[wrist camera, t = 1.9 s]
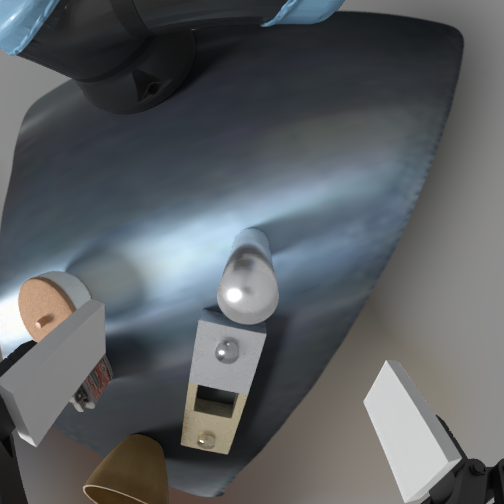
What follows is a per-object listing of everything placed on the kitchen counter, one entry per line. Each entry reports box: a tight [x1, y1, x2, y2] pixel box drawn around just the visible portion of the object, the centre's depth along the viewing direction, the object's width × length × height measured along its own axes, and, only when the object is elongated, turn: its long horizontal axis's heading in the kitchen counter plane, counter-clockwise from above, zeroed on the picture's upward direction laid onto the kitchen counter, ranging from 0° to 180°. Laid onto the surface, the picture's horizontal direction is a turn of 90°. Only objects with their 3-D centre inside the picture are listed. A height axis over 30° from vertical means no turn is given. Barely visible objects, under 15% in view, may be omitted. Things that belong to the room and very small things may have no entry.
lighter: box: [69, 354, 113, 412], centre depth 33 cm, size 8×3×10 cm, turn 10°
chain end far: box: [181, 382, 248, 454], centre depth 38 cm, size 16×8×4 cm, turn 167°
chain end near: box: [189, 309, 267, 410], centre depth 35 cm, size 16×8×4 cm, turn 167°
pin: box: [217, 228, 279, 325], centre depth 26 cm, size 4×4×15 cm
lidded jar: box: [19, 271, 91, 343], centre depth 31 cm, size 11×11×9 cm
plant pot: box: [83, 434, 169, 504], centre depth 35 cm, size 15×15×16 cm
